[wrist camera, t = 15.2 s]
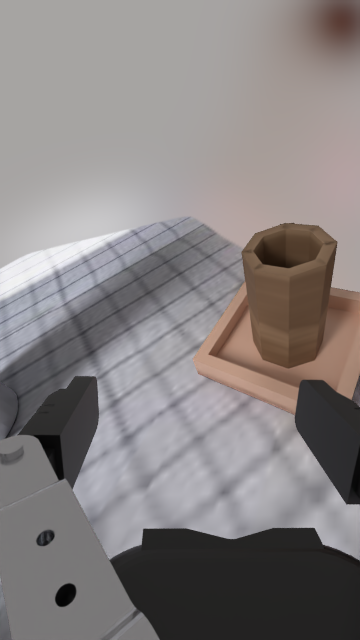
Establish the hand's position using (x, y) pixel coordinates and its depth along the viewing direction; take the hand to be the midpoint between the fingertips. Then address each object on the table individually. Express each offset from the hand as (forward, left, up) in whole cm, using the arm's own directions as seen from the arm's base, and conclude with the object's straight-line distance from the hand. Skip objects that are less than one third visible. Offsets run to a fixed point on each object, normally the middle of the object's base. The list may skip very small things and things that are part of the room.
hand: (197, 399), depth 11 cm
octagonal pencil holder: (-1, +12, -12) cm, 17 cm away
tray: (-1, +12, -13) cm, 18 cm away
